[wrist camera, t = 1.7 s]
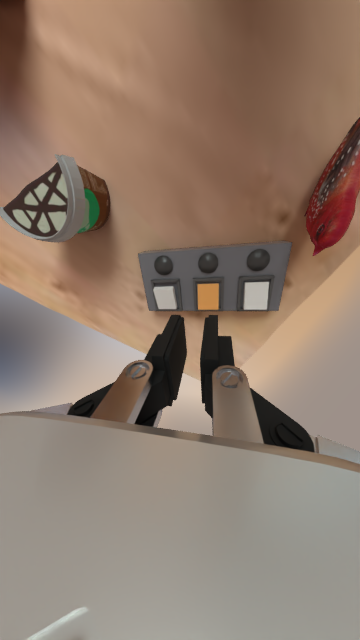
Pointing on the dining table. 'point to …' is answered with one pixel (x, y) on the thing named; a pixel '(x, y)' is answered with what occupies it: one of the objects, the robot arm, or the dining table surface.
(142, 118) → the dining table surface
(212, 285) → the middle rocker
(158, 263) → the rocker switch panel
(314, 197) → the decorative bird figurine
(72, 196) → the food container
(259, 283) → the rocker
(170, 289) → the rocker
